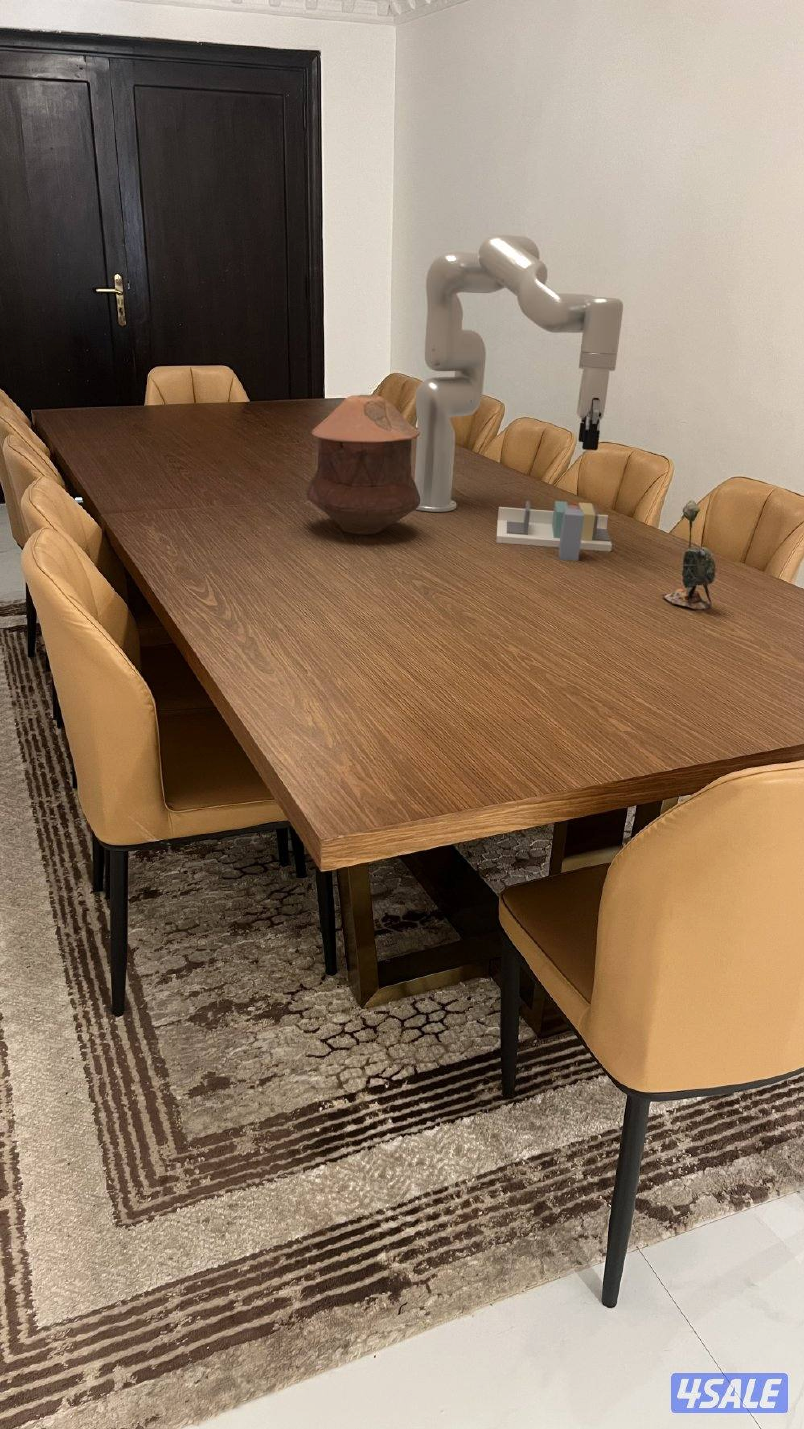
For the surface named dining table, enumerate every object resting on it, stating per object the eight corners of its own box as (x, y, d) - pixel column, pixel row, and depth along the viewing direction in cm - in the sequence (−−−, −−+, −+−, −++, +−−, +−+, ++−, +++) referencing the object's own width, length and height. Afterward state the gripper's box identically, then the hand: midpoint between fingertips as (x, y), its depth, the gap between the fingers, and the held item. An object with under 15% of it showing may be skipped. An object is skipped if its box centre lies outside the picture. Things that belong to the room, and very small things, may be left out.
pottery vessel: (435, 527, 240) (444, 396, 228) (388, 552, 219) (396, 409, 207) (339, 511, 250) (342, 384, 237) (285, 533, 229) (286, 395, 216)
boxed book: (559, 559, 222) (565, 514, 217) (558, 552, 227) (564, 507, 223) (578, 561, 221) (584, 515, 217) (576, 553, 227) (582, 509, 223)
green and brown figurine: (683, 615, 191) (702, 510, 183) (657, 596, 201) (673, 495, 193) (722, 614, 193) (742, 510, 185) (694, 595, 203) (712, 495, 195)
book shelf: (496, 542, 232) (499, 509, 228) (497, 525, 246) (500, 494, 243) (611, 551, 230) (615, 518, 227) (605, 533, 244) (609, 502, 241)
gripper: (576, 356, 218) (567, 438, 225) (583, 364, 203) (573, 451, 210) (611, 358, 218) (601, 440, 225) (621, 366, 202) (609, 453, 209)
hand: (587, 445), depth 217 cm, fingers open, 9 cm apart
